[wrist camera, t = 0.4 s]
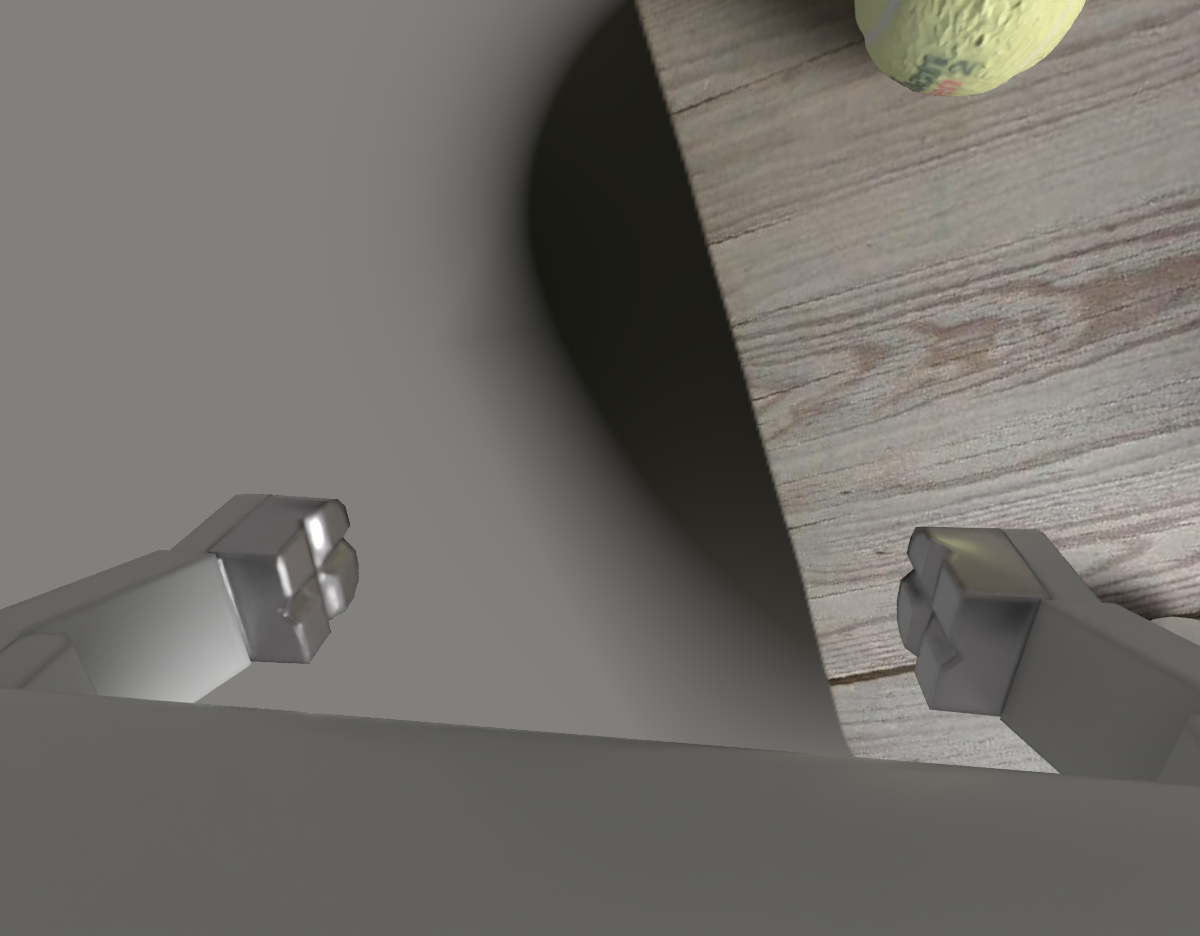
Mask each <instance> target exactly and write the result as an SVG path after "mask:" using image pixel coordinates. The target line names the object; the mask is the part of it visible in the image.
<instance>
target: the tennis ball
mask: <svg viewBox="0 0 1200 936" xmlns="http://www.w3.org/2000/svg"><path fill="white" fill-rule="evenodd" d="M1085 1H1086V0H855V16H856V20H857V24H858V26H859V29H860V30H861V31H862V33H863V36H864V38H865V47H866V49H867V51H868V53H869V55H870V57H871V59H872V60H873V61H874V63H875V64H876V65H877V66H878V68H879V69H880V71H881V72H882V73H885V74H886V75H887V76H888V77H889V78H891V79H892V80H895V81H896V82H898V83H899V84H901V85H903V86H904V87H907V88H909V89H910V90H912V91H913V92H918V93H923V94H927V95H934V96H951V97H961V96H969V95H973V94H979V93H983V92H986V91H989V90H991V89H993V88H996V87H998V86H999V85H1001V84H1004V83H1006V82H1007V81H1008V80H1009V79H1010V78H1011V77H1012V76H1014V75H1017V74H1019V73H1020V72H1022V71H1025V70H1027V69H1029V68H1031V67H1032V66H1034V65H1035V64H1036V63H1037V62H1039V61H1040V60H1042V59H1044V58H1045V57H1046V56H1047V55H1048V54H1049V53H1050V52H1051V51H1052V50H1053V49H1054V47H1055V46H1056V45H1057V44H1058V43H1059V42H1060V41H1061V39H1062V38H1063V37H1064V36H1065V34H1066V33H1067V31H1068V30H1069V29H1070V27H1071V25H1072V24H1073V22H1074V21H1075V19H1076V17H1077V16H1078V14H1079V13H1080V11H1081V10H1082V8H1083V6H1084V4H1085Z"/></svg>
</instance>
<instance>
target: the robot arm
mask: <svg viewBox="0 0 1200 936" xmlns="http://www.w3.org/2000/svg"><path fill="white" fill-rule="evenodd" d="M349 527H350V522H349V519H348V515H347V511H346V507H345V506H344V505H343V504H342V503H341V502H340V501H339V500H338V499H325V498H310V497H295V496H279V495H276V496H274V495H269V494H241V495H235V496H234V497H233V498H232V499H230V500H229V501H228V502H227V503H226V504H224V505H223V506H222V507H221V508H220V509H219V510H217V511H216V512H215V513H214V514H213V515H212V516H210V517H209V518H208V519H207V520H205V521H204V522H203V523H202V524H201V525H200V526H198V527H197V528H196V529H195V530H194V531H192V532H191V533H190V534H189V535H188V536H187V537H185V538H184V539H183V540H182V541H180V542H179V543H178V544H177V545H176V546H175V547H173V548H172V549H171V550H170V551H165V550H164V551H163V550H159V551H156V552H153V553H151V554H148V555H145V556H143V557H140V558H137V559H135V560H132V561H130V562H127V563H124V564H121V565H119V566H116V567H113V568H111V569H108V570H106V571H103V572H100V573H97V574H95V575H92V576H89V577H87V578H84V579H81V580H79V581H76V582H73V583H71V584H68V585H65V586H63V587H60V588H57V589H55V590H52V591H50V592H47V593H44V594H41V595H39V596H36V597H33V598H31V599H28V600H25V601H23V602H20V603H18V604H15V605H12V606H9V607H7V608H4V609H1V610H0V936H1200V646H1199V645H1197V644H1195V643H1193V642H1191V641H1189V640H1187V639H1185V638H1183V637H1181V636H1179V635H1177V634H1175V633H1173V632H1171V631H1169V630H1167V629H1165V628H1163V627H1161V626H1159V625H1157V624H1155V623H1153V622H1151V621H1149V620H1147V619H1145V618H1143V617H1141V616H1139V615H1137V614H1135V613H1133V612H1131V611H1129V610H1127V609H1125V608H1123V607H1121V606H1119V605H1117V604H1115V603H1102V602H1101V601H1100V600H1099V599H1098V598H1097V596H1096V595H1095V594H1094V593H1093V592H1092V590H1091V589H1090V588H1089V587H1088V586H1087V584H1086V583H1085V582H1084V581H1083V580H1082V578H1081V577H1080V576H1079V575H1078V574H1077V572H1076V571H1075V570H1074V569H1073V568H1072V566H1071V565H1070V564H1069V563H1068V562H1067V560H1066V559H1065V558H1064V557H1063V556H1062V554H1061V553H1060V552H1059V551H1058V550H1057V548H1056V547H1055V546H1054V545H1053V544H1052V542H1051V541H1050V540H1049V539H1048V538H1047V536H1046V535H1045V534H1044V533H1043V532H1040V531H1038V530H1036V529H999V528H954V527H916V528H915V530H914V532H913V534H912V536H911V538H910V542H909V546H908V550H907V555H908V557H909V559H910V561H911V563H912V565H913V567H914V569H913V570H912V571H911V572H909V573H908V574H907V575H906V576H905V577H904V578H903V579H901V582H900V587H899V592H898V598H897V622H898V627H899V633H900V636H901V639H902V641H903V644H904V647H905V648H906V649H907V650H909V651H910V652H911V653H913V654H914V655H915V656H917V657H918V658H917V662H916V666H915V670H914V672H915V675H916V677H917V680H918V682H919V685H920V687H921V690H922V692H923V694H924V697H925V699H926V702H927V704H928V707H929V709H930V710H939V711H950V712H960V713H970V714H980V715H990V716H1000V717H1001V718H1000V720H1001V721H1002V722H1004V723H1005V724H1006V725H1007V726H1008V727H1009V728H1010V729H1011V730H1012V731H1014V732H1015V733H1016V734H1017V735H1018V736H1019V737H1020V738H1021V739H1022V740H1024V741H1025V742H1026V743H1027V744H1028V745H1029V746H1030V747H1031V748H1032V749H1034V750H1035V751H1036V752H1037V753H1038V754H1039V755H1040V756H1041V757H1043V758H1044V759H1045V760H1046V761H1047V762H1048V763H1049V764H1050V765H1051V766H1053V767H1054V768H1055V769H1056V770H1057V771H1058V772H1059V773H1060V774H1056V773H1044V772H1031V771H1019V770H1007V769H995V768H982V767H970V766H958V765H945V764H933V763H921V762H908V761H896V760H884V759H872V758H859V757H847V756H834V755H821V754H810V753H796V752H785V751H773V750H761V749H748V748H736V747H724V746H712V745H699V744H686V743H675V742H662V741H650V740H638V739H626V738H613V737H601V736H589V735H577V734H565V733H552V732H540V731H527V730H515V729H503V728H491V727H479V726H466V725H455V724H442V723H430V722H418V721H405V720H393V719H381V718H369V717H356V716H344V715H332V714H320V713H308V712H295V711H283V710H271V709H258V708H247V707H234V706H222V705H210V704H197V703H194V702H196V701H197V700H199V699H200V698H202V697H203V696H205V695H206V694H207V693H209V692H211V691H212V690H214V689H215V688H216V687H218V686H219V685H221V684H222V683H224V682H225V681H227V680H228V679H230V678H231V677H233V676H234V675H236V674H237V673H239V672H240V671H242V670H243V669H245V668H246V667H248V666H249V665H250V664H251V661H257V662H278V663H300V664H309V663H310V661H311V660H312V659H313V657H314V656H315V654H316V653H317V651H318V650H319V648H320V647H321V646H322V644H323V643H324V641H325V640H326V638H327V637H328V635H329V634H330V633H331V630H330V626H329V622H328V621H329V620H331V619H332V618H334V617H336V616H338V615H339V614H341V613H343V612H345V611H346V609H347V608H348V606H349V604H350V603H351V601H352V600H353V598H354V594H355V590H356V587H357V584H358V560H357V555H356V551H355V550H354V548H353V547H352V546H351V545H350V544H349V543H348V542H347V541H346V540H345V539H344V538H343V537H344V535H345V533H346V532H347V530H348V528H349Z"/></svg>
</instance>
